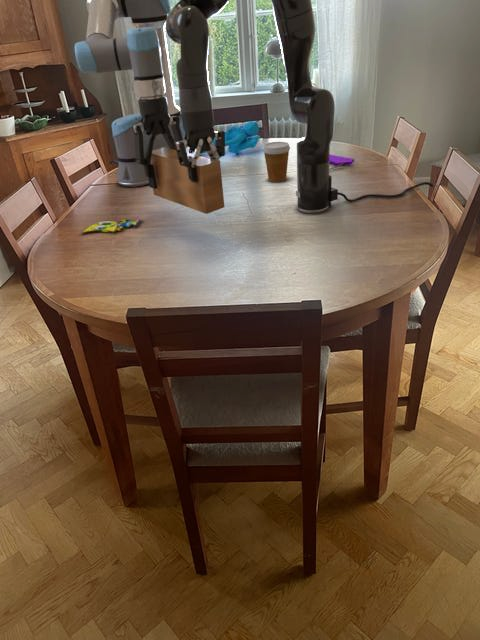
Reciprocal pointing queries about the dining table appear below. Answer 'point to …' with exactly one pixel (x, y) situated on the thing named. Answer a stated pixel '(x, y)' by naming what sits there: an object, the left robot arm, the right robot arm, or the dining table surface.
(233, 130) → the toy
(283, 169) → the disposable coffee cup
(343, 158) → the musical instrument
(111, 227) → the toy
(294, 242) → the dining table surface
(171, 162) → the box
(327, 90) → the right robot arm
